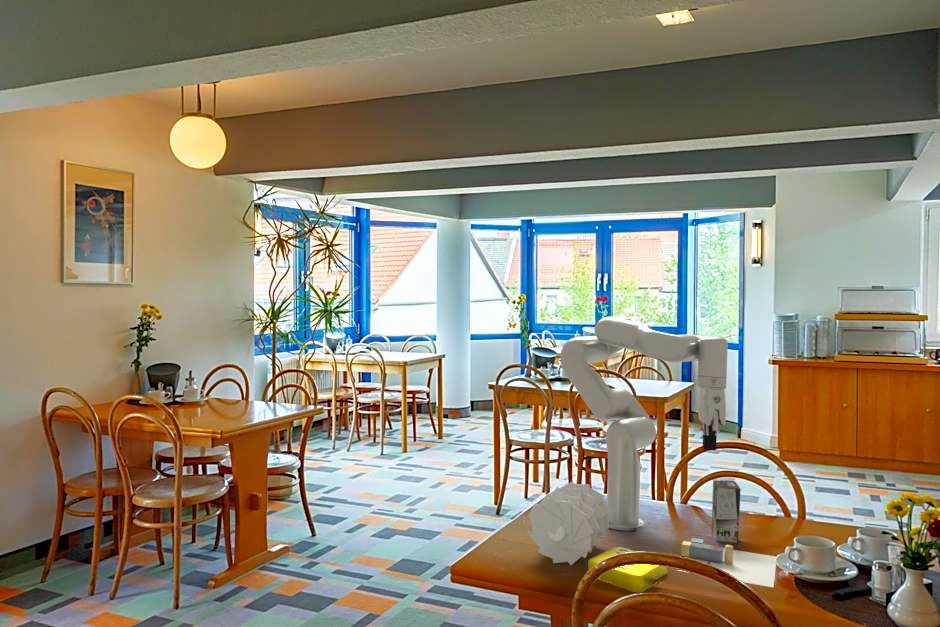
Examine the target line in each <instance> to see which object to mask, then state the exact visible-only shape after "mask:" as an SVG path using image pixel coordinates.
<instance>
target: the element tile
mask: <svg viewBox="0 0 940 627" xmlns="http://www.w3.org/2000/svg"><path fill="white" fill-rule="evenodd" d="M635 551H636V550H633V549H629V548H627V547H621V546H615V547H612V548H610V549H608V550H606V551H604V552H602V553H600V554H597V555H595V556H593V557H591V558H589V559H588V560H587V561H588V562H587V571H588V570H589V569H590V568H592V567H593V566H594V565H595V564H597V563H598V562H600V561H601V560H603V559H605V558H607V557H609V556H612V555H616V554H620V553H625V552H635ZM667 574H668V566H667V567H665V566H659V565H650V564H634V565H625V566H620V567H617V568H615V569H612V570H610V571H608V572H606V573H605V574H603V575H602V576H601V577H600V579H601V580H605V581H608V582H611V583H613V584H616V585H619V586H621V587H623V588H625V589H624V590H626V589H627V590H626V591H629V592H632V593H644V592H645V590H646V589H648V588H649V587H650V586H652V585H653V584H655V583H656V582H658V581H659V580H658V579H660V578H662V577H663V576H665V575H667ZM623 588H622V589H623ZM649 589H650V588H649ZM649 589H648V590H649ZM646 591H647V590H646Z"/></svg>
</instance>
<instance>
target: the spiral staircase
mask: <svg viewBox="0 0 940 627" xmlns="http://www.w3.org/2000/svg"><path fill="white" fill-rule="evenodd" d="M604 496H605V495H604V494H602V493H600V492H599V491H598V490H595V489H594V488H592V487H591V485H590V484H587V483H584V484H583V483H581V484H580V483H575V482H574V481H573V480H571V481H570V482H568V483H567V484H565V485H563V486H562V487H559V486H556V487H555V489H554V491H553V493H552V494H551V493H549V492H547V493H546V496H544V498H543V499H542V500H541V502H540V504H538V503H537V502H535V503H534V504H533V506H532V508H531V509H530V512H529V513H528V515H527V517H528V518H529V519H530V523H531V528H532V532H531V533H530V535H529V537H530V538H531V539H532V540H533V541H534V543H535V544H536V545H537V546H538V548H539V549H538V552H537V553H538V554H541V555H543V556H545V557H547V558H550V559H552V564H560V563H568V564H569V565H570V566H572V565H573V564H575V563H576V562H577V561H578V560H579V559H580V558H585V559H586V558H587V556H588V553H590V554H591V553H592V550H593V549H594V547H596V546H597V540H599V541H601V540H602V536H604V537H605V536H606V533H607V529H608V530H609V529H610V528H609V517H608V513H610V512H611V511H610V509H609V508H608V506H607V502H606V501H605V499H604Z"/></svg>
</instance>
